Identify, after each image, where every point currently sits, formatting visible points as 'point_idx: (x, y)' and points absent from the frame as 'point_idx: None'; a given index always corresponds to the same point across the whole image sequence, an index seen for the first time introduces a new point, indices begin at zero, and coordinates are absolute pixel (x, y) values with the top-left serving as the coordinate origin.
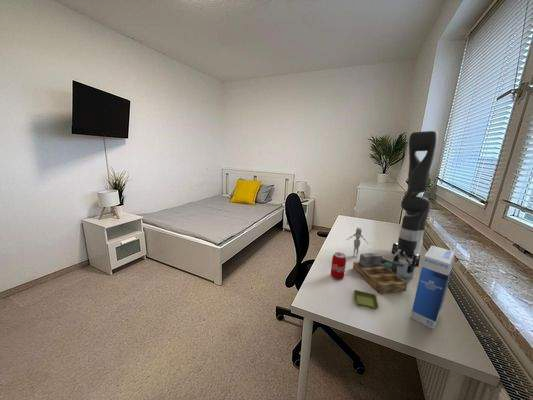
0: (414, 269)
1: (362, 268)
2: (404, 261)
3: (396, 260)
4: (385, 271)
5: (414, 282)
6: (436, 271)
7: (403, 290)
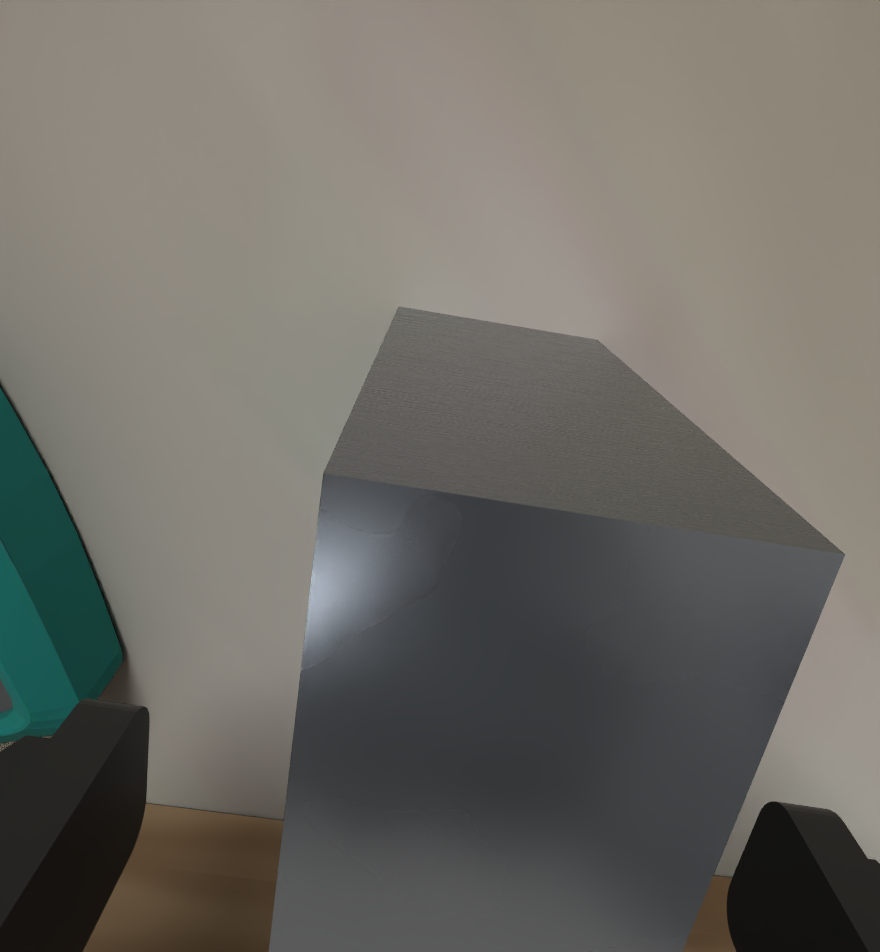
0: (685, 416)
1: None
2: (367, 924)
3: (69, 928)
4: None
5: None
6: None
7: None
